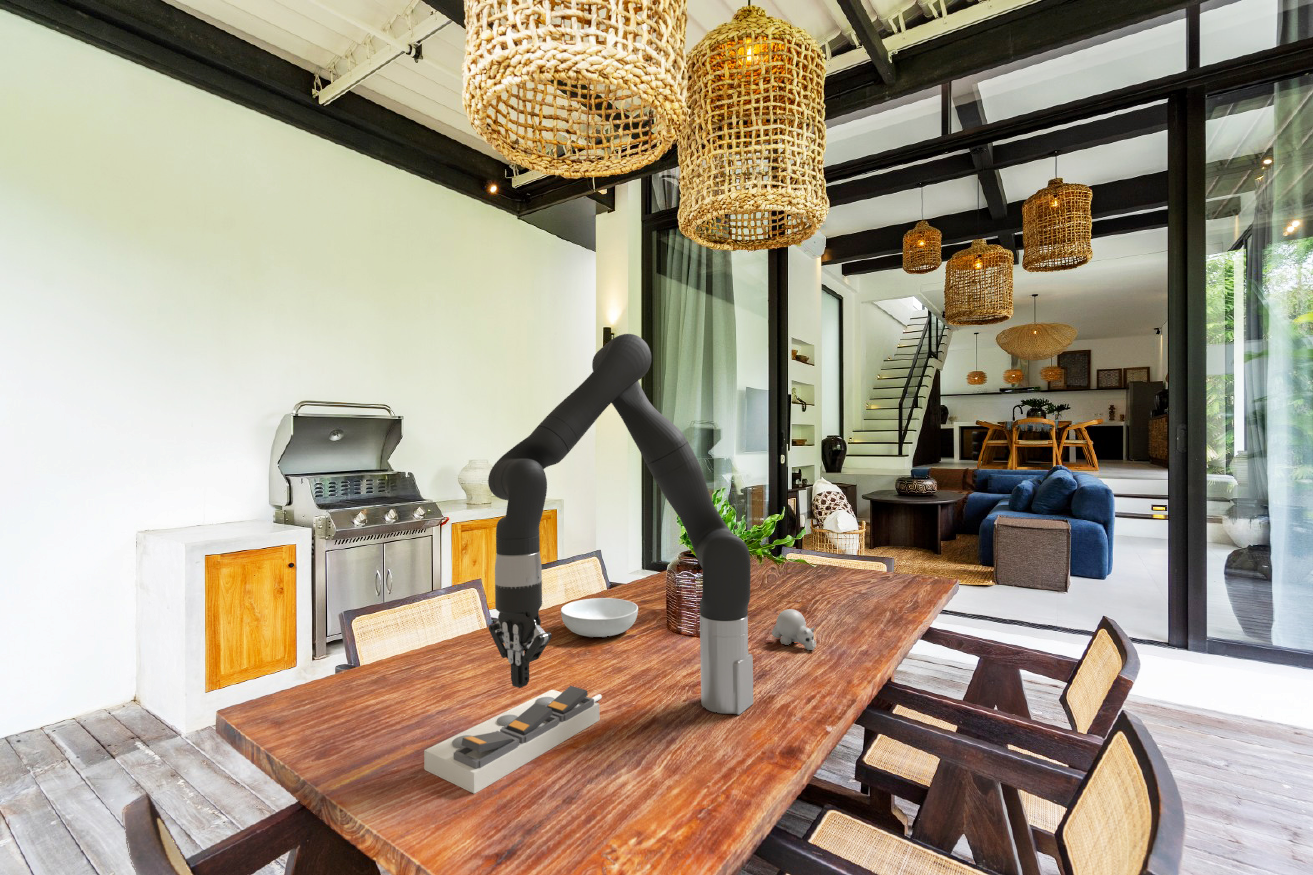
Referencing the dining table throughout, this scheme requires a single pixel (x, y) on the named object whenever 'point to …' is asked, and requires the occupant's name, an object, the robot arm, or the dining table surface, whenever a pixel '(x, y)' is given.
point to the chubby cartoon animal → (793, 629)
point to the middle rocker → (530, 719)
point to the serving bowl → (599, 616)
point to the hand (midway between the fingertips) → (520, 685)
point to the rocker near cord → (568, 700)
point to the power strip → (494, 764)
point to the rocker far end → (486, 741)
